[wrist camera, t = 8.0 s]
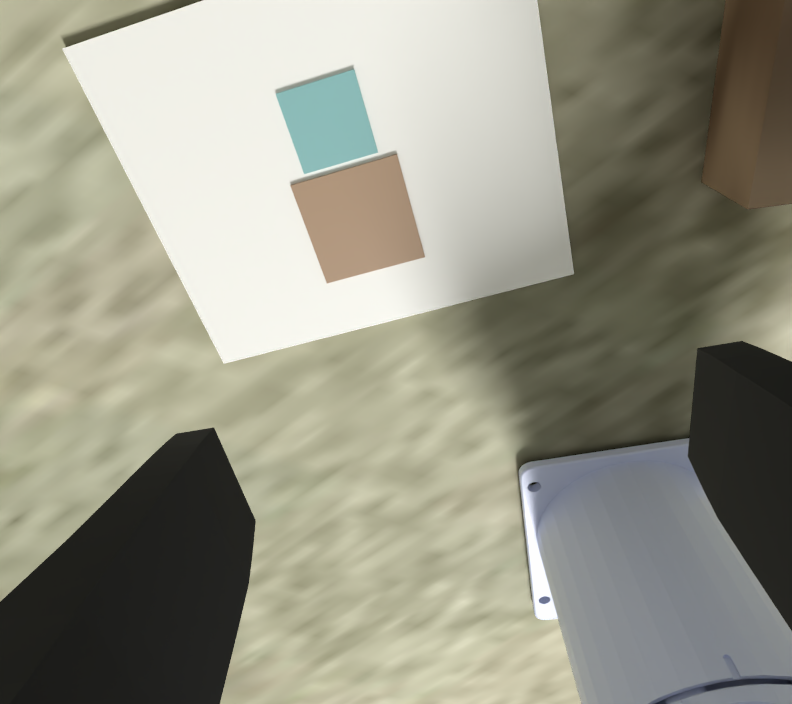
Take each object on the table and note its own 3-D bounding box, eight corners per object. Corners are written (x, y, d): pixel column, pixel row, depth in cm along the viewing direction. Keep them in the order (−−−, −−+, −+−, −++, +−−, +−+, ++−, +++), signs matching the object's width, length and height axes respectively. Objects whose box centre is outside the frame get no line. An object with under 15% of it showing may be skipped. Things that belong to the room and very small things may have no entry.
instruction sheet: (572, 271, 19) (575, 275, 19) (225, 360, 20) (222, 365, 20) (520, -109, 14) (523, -110, 14) (65, 48, 15) (60, 48, 15)
